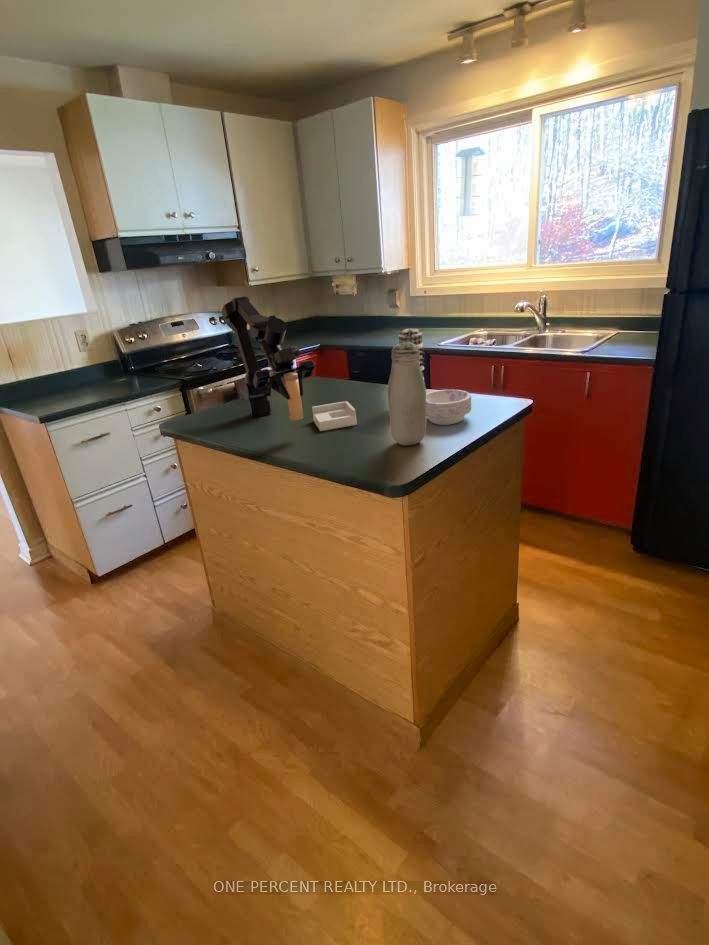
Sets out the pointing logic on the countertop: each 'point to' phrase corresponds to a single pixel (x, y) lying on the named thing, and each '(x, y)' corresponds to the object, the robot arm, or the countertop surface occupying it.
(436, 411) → the paper bowls
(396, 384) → the light grey bottle
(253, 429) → the countertop surface
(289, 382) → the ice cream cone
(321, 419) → the housing
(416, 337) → the decorative candle
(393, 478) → the countertop surface
